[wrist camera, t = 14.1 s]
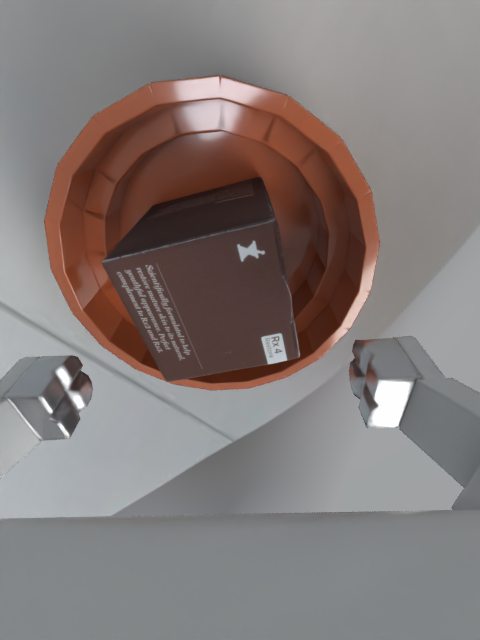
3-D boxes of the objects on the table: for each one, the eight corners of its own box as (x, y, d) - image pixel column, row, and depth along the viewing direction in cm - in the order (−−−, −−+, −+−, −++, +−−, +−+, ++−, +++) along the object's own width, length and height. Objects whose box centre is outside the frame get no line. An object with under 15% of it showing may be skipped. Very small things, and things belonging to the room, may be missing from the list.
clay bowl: (361, 72, 13) (417, 53, 9) (332, 330, 21) (354, 382, 17) (49, 105, 14) (-32, 101, 10) (135, 343, 22) (111, 396, 18)
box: (150, 202, 16) (94, 257, 10) (263, 173, 15) (279, 214, 9) (188, 299, 19) (163, 385, 13) (281, 280, 18) (302, 362, 12)
